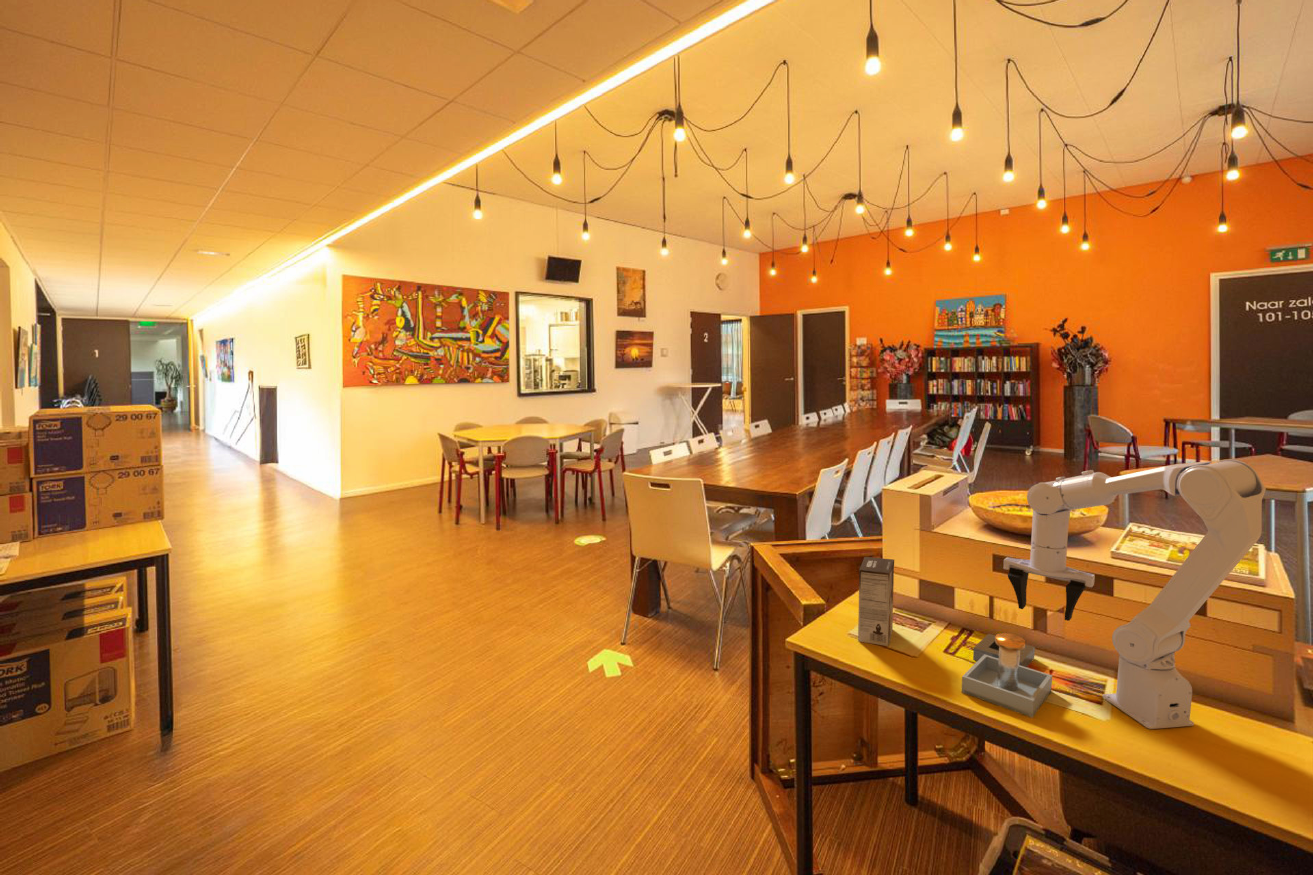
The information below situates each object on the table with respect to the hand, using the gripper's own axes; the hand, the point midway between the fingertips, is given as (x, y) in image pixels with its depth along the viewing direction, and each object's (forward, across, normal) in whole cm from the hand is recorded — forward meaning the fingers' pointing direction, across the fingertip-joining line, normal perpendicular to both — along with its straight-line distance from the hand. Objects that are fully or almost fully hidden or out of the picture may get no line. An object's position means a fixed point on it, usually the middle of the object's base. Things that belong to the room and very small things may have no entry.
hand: (1044, 612), depth 117 cm
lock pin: (+10, +2, +14) cm, 17 cm away
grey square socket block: (+10, +6, +3) cm, 12 cm away
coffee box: (+11, +29, +10) cm, 32 cm away
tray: (+10, +2, +15) cm, 18 cm away
